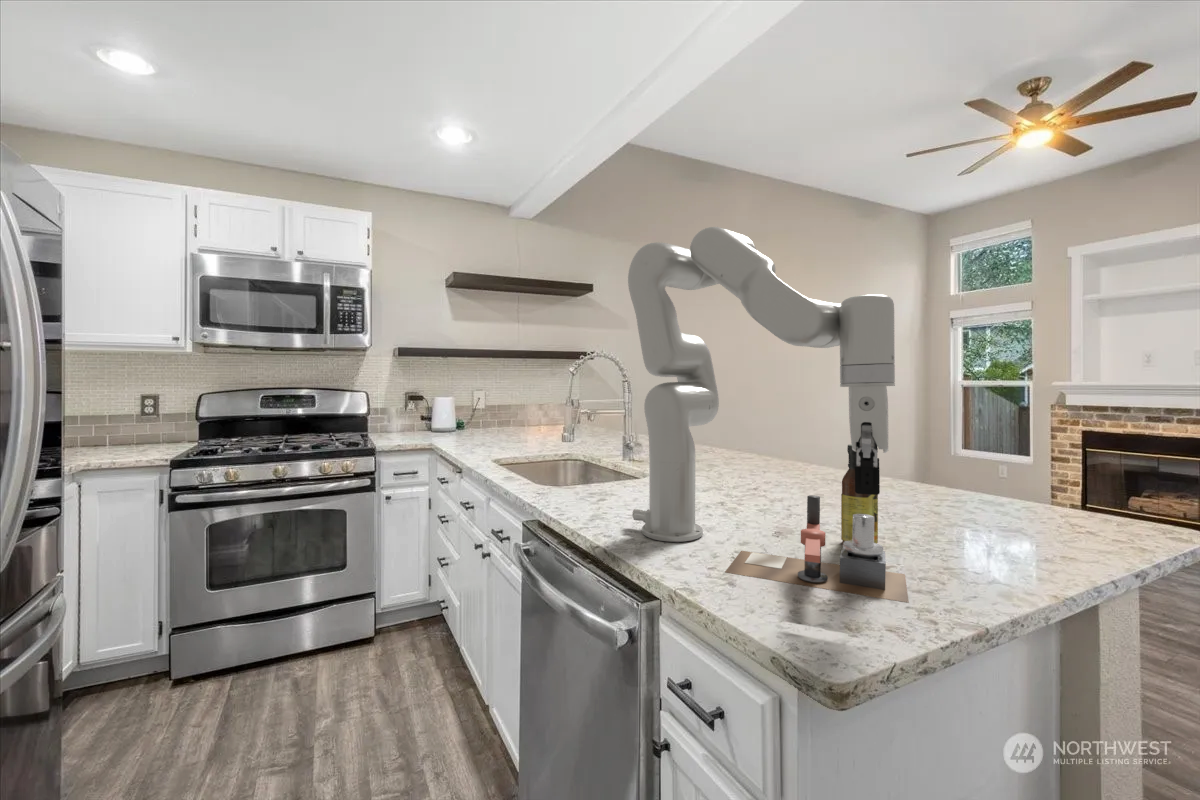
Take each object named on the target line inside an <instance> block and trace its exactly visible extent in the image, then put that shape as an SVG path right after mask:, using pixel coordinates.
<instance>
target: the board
mask: <svg viewBox="0 0 1200 800" xmlns="http://www.w3.org/2000/svg"><path fill="white" fill-rule="evenodd" d="M804 561H805V559H802V558H796V557H788V556H784V555H783V556H782V555H775V554H768V553H762V552H755V551H754V552H753V551H748V550H747V551H746V550H740V551H739V553H737V556H736V557H735V558H734V559H733V560H732V561H731V563H730V564H729V566H728V567H727V568H726V570H725V571H724V573H726V574H731V575H738V576H745V577H752V578H757V579H763V580H769V581H775V582H779V583H787V584H793V585H799V586H805V587H810V588H818V589H822V590H828V591H829V590H830V591H834V592H835V591H836V592H840V593H841V592H842V593H847V594H854V595H859V596H865V597H871V598H877V599H883V600H889V601H896V602H901V603H906V604H907V603H908V604H910V602H909V593H908V586H907V579H906V574H905V573H899V572H892V571H886V573H885V590H881V589H875V588H868V587H862V586H856V585H850V584H843V583H840V564H838V563H837V564H835V563H830V562H823V561H821V573H824V574H826V575H827V577H828V581H827V582H826V583H822V584H813V583H807V582H804V581H802V580H800V579H799V578H798V572H799V571H803V570H804Z"/></svg>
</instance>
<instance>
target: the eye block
mask: <svg viewBox="0 0 1200 800" xmlns="http://www.w3.org/2000/svg"><path fill="white" fill-rule="evenodd" d="M840 550H841V551H840V555H839V565H840V583H843V584H850V585H856V586H862V587H868V588H875V589H881V590H885V573H886V572H887V571H886V569H887V567H886V566H887V565H886V563H887V562H886V551H884V550H883V555H881V556H875V557H874V560H871V559H863V558H856V557H852V554H851V553H849V552H846V551H845V550H844V549H843V545H842V546H841V549H840Z"/></svg>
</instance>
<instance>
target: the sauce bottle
mask: <svg viewBox="0 0 1200 800" xmlns="http://www.w3.org/2000/svg"><path fill="white" fill-rule="evenodd" d="M846 450H847V453H848V464H847V467H848V469H847V471H846V472H845V474H844V476H843V477H842V479H841V497H840V498H841V499H840V500H841V501H840V502H841V503H840V505H841V506H840V507H841V508H840V510H841V511H840V513H841V515H840V518H841V519H840V522H841V528H840V529H841V530H840V531H841V533H840V537H841V538H840V540H841V541H842V542H841V543H842V545H843V543H844V542H845V541H848V540H852V537H853V515H854V514H867V515H871V516H874V543H877V544H879V542H878V541H879V522H878V521H879V494H878V495H870V494H857V493H856V492H855V466H857V463H856V462H857V452H855V451H854V450H852V444H851V443H850V444H847V449H846Z"/></svg>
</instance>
